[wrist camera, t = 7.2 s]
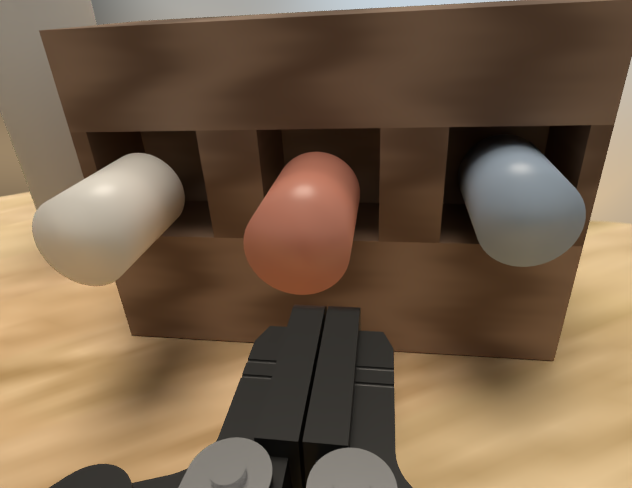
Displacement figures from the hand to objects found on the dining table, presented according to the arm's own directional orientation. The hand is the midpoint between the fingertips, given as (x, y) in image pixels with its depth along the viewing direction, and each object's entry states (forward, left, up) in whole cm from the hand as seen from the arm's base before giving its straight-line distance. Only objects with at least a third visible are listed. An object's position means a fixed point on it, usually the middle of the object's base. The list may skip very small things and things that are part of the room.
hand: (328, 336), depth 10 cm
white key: (-8, +6, -1) cm, 10 cm away
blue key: (+6, +8, -1) cm, 10 cm away
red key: (-1, +6, -1) cm, 6 cm away
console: (-1, +12, -8) cm, 15 cm away
